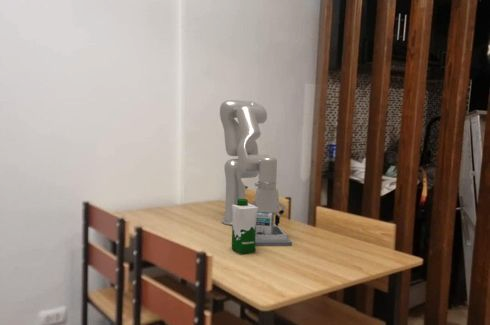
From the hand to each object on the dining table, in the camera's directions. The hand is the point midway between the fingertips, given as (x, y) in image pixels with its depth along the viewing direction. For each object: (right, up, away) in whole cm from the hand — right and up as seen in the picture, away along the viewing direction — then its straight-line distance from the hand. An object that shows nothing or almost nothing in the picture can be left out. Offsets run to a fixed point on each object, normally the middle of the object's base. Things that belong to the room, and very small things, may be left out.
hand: (265, 225), depth 186 cm
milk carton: (-9, -8, -16) cm, 20 cm away
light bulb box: (0, -5, +1) cm, 5 cm away
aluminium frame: (0, -5, +1) cm, 5 cm away
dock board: (0, -6, +1) cm, 6 cm away
